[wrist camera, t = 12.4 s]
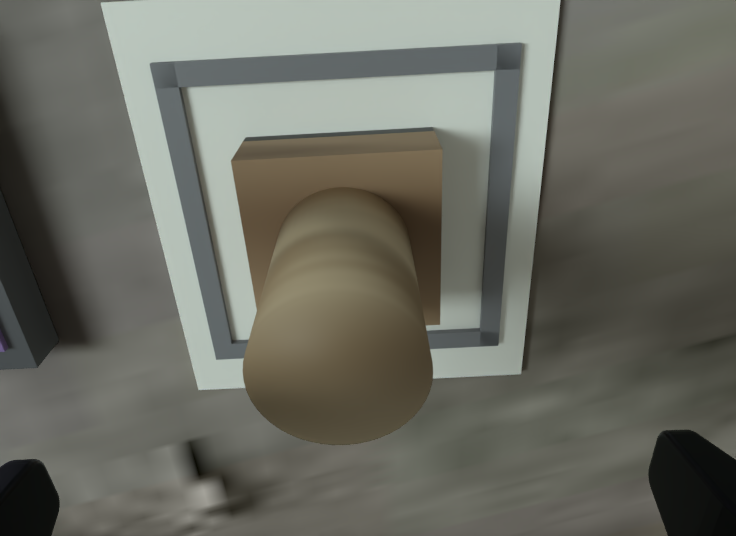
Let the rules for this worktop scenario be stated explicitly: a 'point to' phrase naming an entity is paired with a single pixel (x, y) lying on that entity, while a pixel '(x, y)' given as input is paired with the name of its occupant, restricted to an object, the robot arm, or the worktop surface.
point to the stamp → (341, 278)
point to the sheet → (343, 114)
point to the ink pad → (20, 304)
